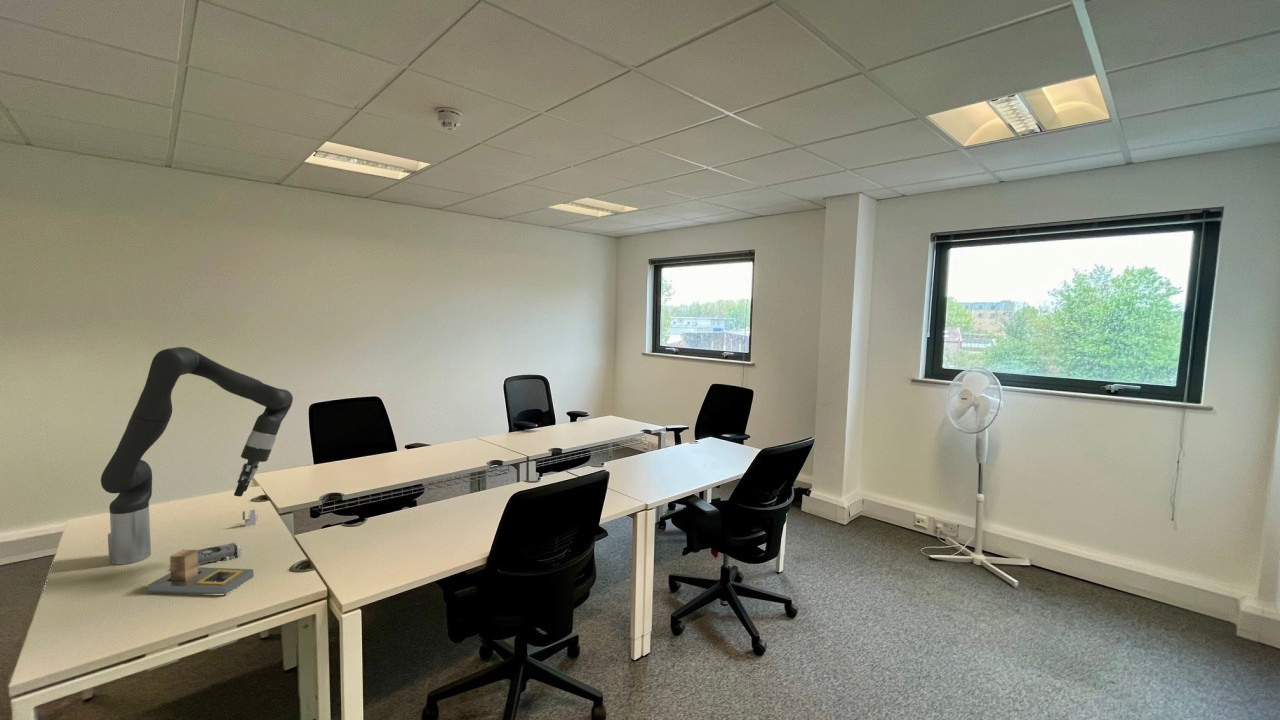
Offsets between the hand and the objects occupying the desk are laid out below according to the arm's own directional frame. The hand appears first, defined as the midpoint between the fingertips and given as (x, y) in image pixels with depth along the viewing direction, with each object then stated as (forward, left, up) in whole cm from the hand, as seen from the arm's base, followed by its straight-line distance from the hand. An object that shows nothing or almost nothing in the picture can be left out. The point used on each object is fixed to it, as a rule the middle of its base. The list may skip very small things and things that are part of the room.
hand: (239, 493), depth 166 cm
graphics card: (-14, +4, -25) cm, 29 cm away
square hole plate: (-2, -13, -24) cm, 28 cm away
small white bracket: (-25, +29, -25) cm, 46 cm away
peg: (-7, -13, -24) cm, 29 cm away
